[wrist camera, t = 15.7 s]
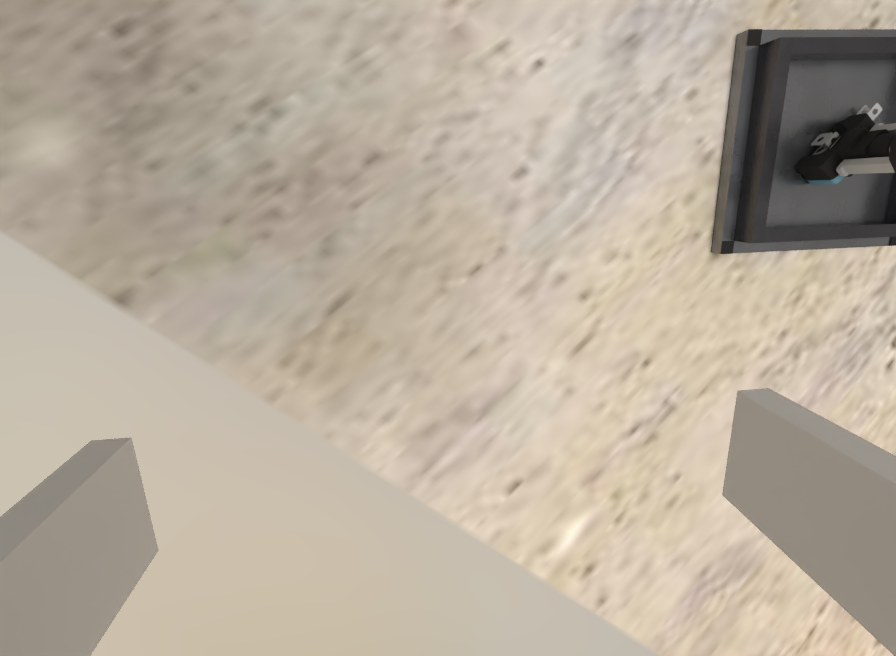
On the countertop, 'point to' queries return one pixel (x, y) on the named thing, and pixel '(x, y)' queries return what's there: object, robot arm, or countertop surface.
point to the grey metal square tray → (802, 141)
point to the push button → (851, 149)
